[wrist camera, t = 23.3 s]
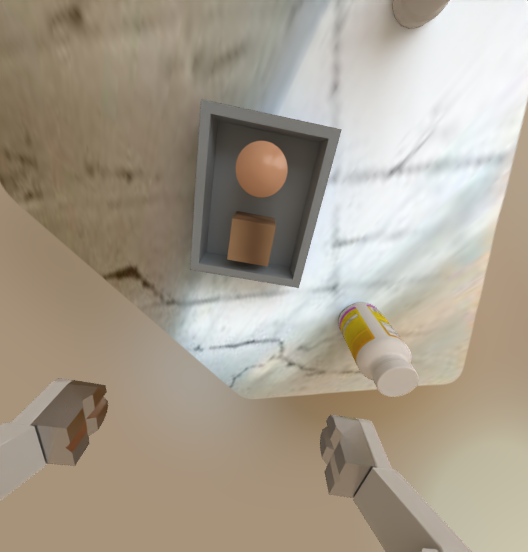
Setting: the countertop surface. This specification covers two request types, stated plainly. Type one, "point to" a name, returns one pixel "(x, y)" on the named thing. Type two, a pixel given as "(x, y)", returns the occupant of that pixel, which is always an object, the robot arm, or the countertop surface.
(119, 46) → the countertop surface
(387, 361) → the supplement bottle
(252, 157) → the cylinder
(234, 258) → the cube
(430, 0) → the bottle
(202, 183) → the tote
